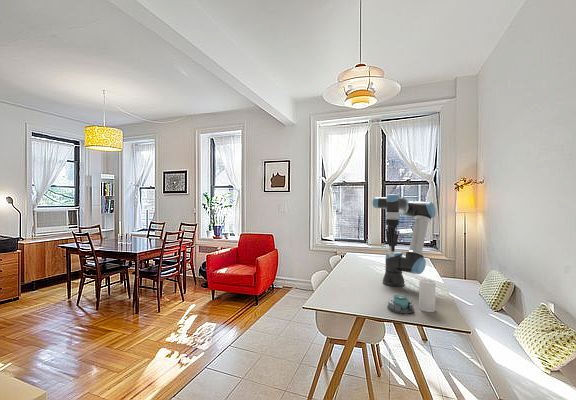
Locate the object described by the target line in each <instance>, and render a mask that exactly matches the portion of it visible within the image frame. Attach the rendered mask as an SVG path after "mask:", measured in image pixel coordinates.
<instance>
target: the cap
mask: <svg viewBox="0 0 576 400" xmlns="http://www.w3.org/2000/svg"><path fill="white" fill-rule="evenodd" d="M408 300H409V298H408V297H407V296H406V295H404V294H395V295H393V298H392V303H394V304H397V305H401V310H408Z"/></svg>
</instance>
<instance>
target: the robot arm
mask: <svg viewBox="0 0 576 400" xmlns="http://www.w3.org/2000/svg"><path fill="white" fill-rule="evenodd" d="M372 207H373V208H376V209H383V210H385V212H386V213H385V215H386V216H385V218H386V219H385V224H386V225H387V227H386V228H385V230H384V231H385V235H386V244H387V245H388V246H389V247H388V252H386V254H385V272H384V275H383V278H382V284H384V285H386V286H389V287H396V288H397V287H404V286H405V279H404V276H403V272H404V273H409V274H413V275H421V274H423V272H424V271H425V269H426V265H427V264H426V263H427V260H426V258H425V257H424V256H425V255H423V250H424V249H423V248H424V245H425V239H426V236H427V235H426V234H427V230H428V226H429V223H430V222H431V221H432V219H434V218H435V217H436V207H435V204H434V203H433V202H431V201H415V200H414V201H408V198H405V197H402V196H401V197H400V195H399V194H397V193H395V194H394V193H391V194H387V195H386V197H385V196H384V197H382V196H381V197H379V196H378V197H374V198H373V199H372ZM400 215H404V216H407V217H411V218H412V217H413V219H414V220H415V221H414V225H413V230H412V234H411V235H412V236H411V240H410V244H409V249H408V250H407V251H406V252H405V254H403V251H395V247H396V246H398V241H399V236H400V230H398V226H399V225H400V221H399V220H400Z"/></svg>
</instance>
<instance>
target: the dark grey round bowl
mask: <svg viewBox="0 0 576 400" xmlns="http://www.w3.org/2000/svg"><path fill="white" fill-rule="evenodd" d="M414 305H415V303H414V302H413V301H411V300H409V299H408V310H401V305H397V304H394V303H393V298H389V299H388V300H387V309H388V310H389V311H390V312H393V313H395V314H399V315H411V314H414V312H415V308H414V307H415V306H414Z"/></svg>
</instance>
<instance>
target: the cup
mask: <svg viewBox="0 0 576 400" xmlns="http://www.w3.org/2000/svg"><path fill="white" fill-rule="evenodd" d="M418 281H419V283H418V284H419V287H418V289H419V291H418V309H419V310H421V311H422V312H426V313H434V312H436V286H437V285H436V283H437V282H436V281H434V280H432V279H426V278H420V279H419V280H418Z"/></svg>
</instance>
